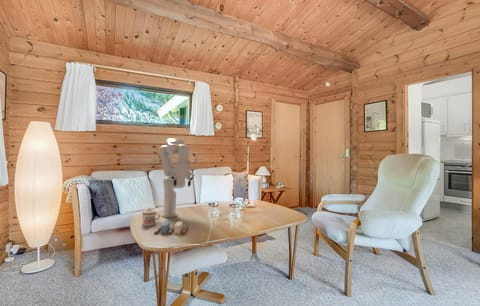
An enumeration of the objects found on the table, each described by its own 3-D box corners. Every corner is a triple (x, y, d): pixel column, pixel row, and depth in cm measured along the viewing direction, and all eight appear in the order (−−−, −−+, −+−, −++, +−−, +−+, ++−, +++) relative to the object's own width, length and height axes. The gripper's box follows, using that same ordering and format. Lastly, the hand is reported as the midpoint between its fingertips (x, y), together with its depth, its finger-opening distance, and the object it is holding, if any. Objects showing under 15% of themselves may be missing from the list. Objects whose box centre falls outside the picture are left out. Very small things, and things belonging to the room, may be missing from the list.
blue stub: (164, 228, 159) (164, 221, 159) (169, 228, 159) (170, 221, 159) (160, 233, 150) (160, 225, 150) (166, 233, 150) (166, 225, 150)
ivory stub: (177, 228, 159) (177, 221, 159) (182, 228, 159) (182, 221, 159) (174, 233, 150) (174, 225, 150) (179, 233, 150) (180, 225, 150)
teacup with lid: (143, 226, 164) (144, 210, 164) (140, 223, 172) (141, 207, 172) (161, 224, 170) (161, 208, 170) (158, 221, 178) (158, 205, 178)
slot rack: (160, 228, 161) (160, 225, 161) (188, 229, 162) (188, 225, 162) (153, 235, 147) (153, 231, 147) (184, 236, 148) (184, 232, 148)
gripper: (196, 162, 173) (195, 185, 174) (172, 161, 173) (171, 184, 173) (194, 163, 166) (193, 187, 166) (169, 161, 166) (168, 186, 166)
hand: (182, 186), depth 170 cm, fingers open, 9 cm apart
